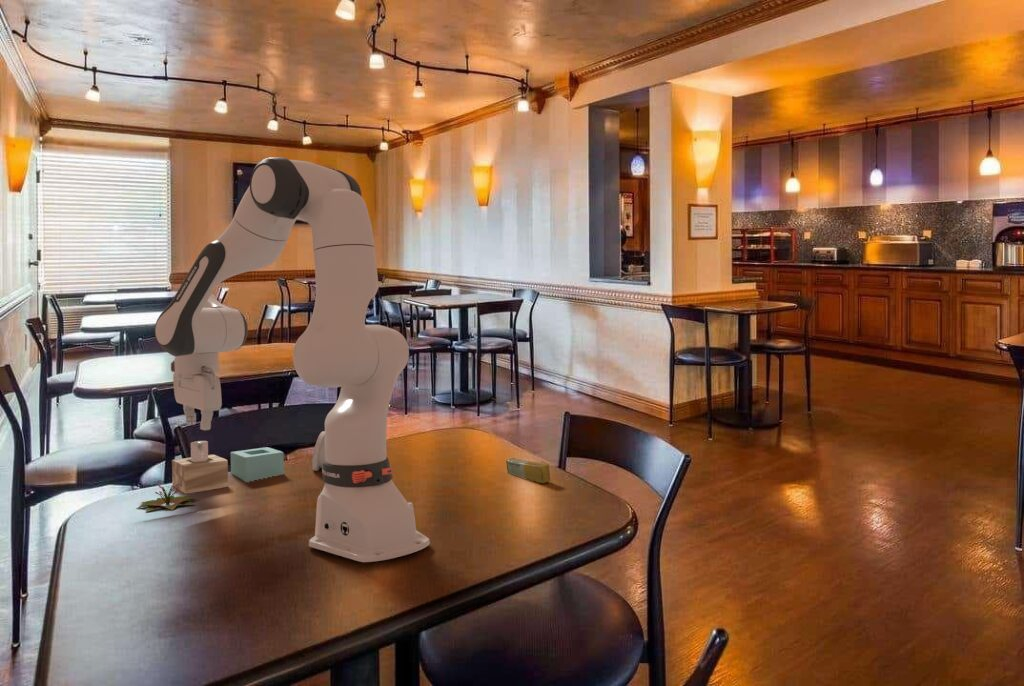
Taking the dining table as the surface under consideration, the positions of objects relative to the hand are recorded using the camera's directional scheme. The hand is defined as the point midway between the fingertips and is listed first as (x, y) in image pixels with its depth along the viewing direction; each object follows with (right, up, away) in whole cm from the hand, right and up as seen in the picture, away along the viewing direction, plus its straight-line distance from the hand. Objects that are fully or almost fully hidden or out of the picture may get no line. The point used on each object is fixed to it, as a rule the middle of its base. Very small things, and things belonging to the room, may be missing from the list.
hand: (198, 427), depth 155 cm
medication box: (+74, -13, +5) cm, 75 cm away
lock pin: (0, -12, 0) cm, 12 cm away
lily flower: (0, -15, -14) cm, 20 cm away
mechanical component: (+24, -13, +14) cm, 31 cm away
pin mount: (0, -13, 0) cm, 13 cm away
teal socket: (+10, -13, +9) cm, 19 cm away
